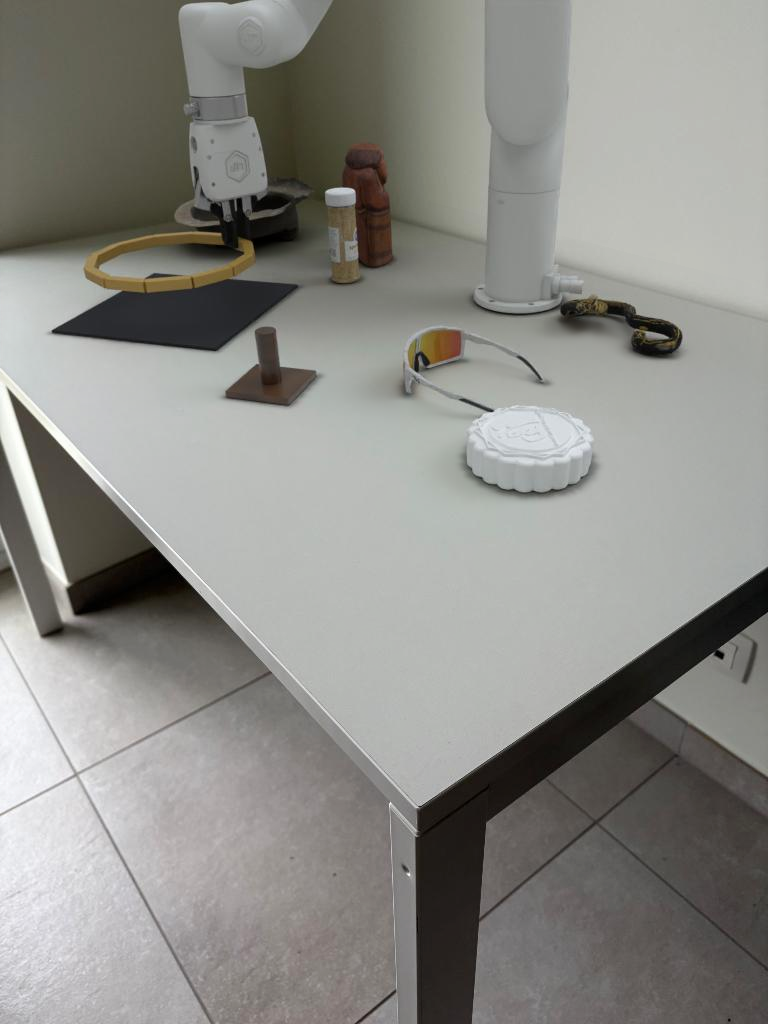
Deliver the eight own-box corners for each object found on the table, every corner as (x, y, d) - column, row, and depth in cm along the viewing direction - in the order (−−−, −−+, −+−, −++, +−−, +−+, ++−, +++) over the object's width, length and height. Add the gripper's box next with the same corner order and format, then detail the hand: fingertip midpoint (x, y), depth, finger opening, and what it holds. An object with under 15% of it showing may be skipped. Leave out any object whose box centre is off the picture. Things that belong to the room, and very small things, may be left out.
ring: (281, 246, 120) (280, 237, 119) (203, 298, 102) (201, 287, 101) (147, 237, 127) (146, 227, 126) (52, 284, 109) (49, 273, 108)
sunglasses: (442, 349, 101) (447, 312, 98) (549, 391, 95) (558, 353, 92) (377, 391, 92) (380, 352, 89) (491, 441, 86) (499, 400, 82)
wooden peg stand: (316, 376, 96) (311, 320, 92) (288, 405, 90) (282, 347, 86) (257, 369, 99) (249, 314, 95) (226, 397, 92) (216, 340, 88)
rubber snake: (695, 314, 95) (618, 331, 93) (692, 350, 97) (617, 368, 96) (619, 274, 109) (552, 289, 108) (618, 307, 112) (552, 322, 110)
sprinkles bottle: (361, 282, 125) (356, 192, 117) (332, 285, 124) (325, 194, 117) (358, 273, 128) (353, 185, 121) (330, 276, 128) (323, 187, 120)
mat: (298, 286, 124) (297, 284, 124) (216, 350, 104) (215, 348, 104) (154, 275, 132) (154, 272, 132) (52, 332, 112) (51, 330, 111)
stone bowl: (338, 225, 152) (333, 174, 146) (269, 275, 135) (261, 219, 129) (229, 214, 161) (221, 165, 155) (152, 258, 144) (139, 206, 138)
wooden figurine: (402, 263, 132) (399, 145, 122) (366, 269, 130) (360, 150, 120) (373, 246, 141) (368, 134, 131) (340, 251, 139) (332, 139, 129)
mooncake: (456, 436, 83) (456, 405, 81) (569, 427, 83) (573, 396, 81) (479, 499, 73) (480, 465, 71) (607, 488, 73) (612, 454, 71)
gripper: (182, 119, 103) (205, 262, 113) (282, 104, 111) (294, 239, 122) (155, 113, 108) (179, 251, 118) (252, 100, 116) (266, 230, 126)
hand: (237, 244), depth 120 cm, fingers closed on ring, 1 cm apart
